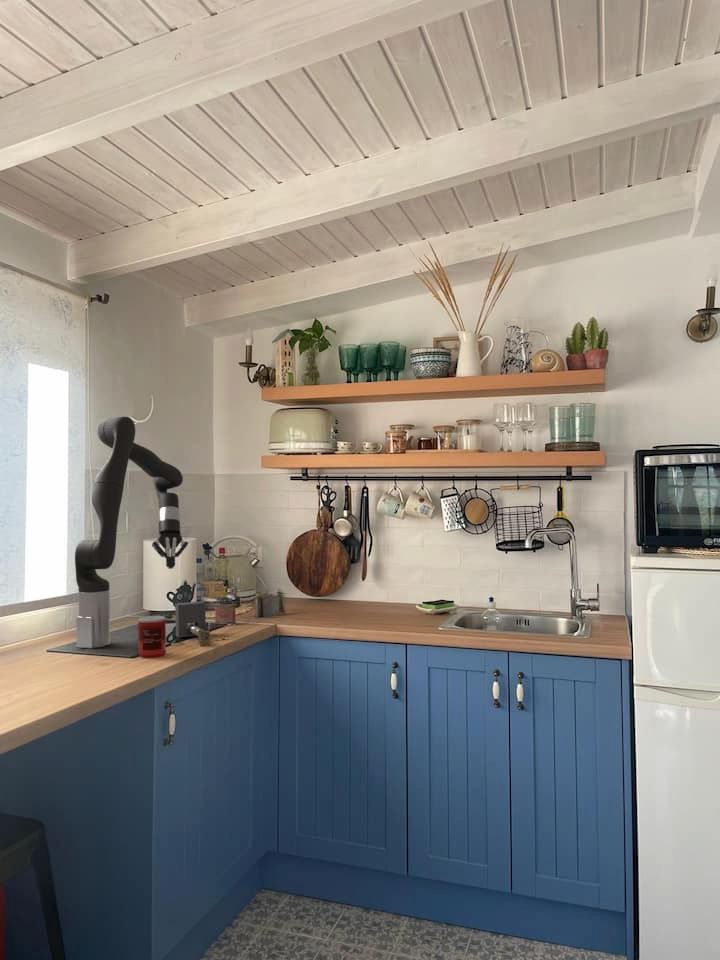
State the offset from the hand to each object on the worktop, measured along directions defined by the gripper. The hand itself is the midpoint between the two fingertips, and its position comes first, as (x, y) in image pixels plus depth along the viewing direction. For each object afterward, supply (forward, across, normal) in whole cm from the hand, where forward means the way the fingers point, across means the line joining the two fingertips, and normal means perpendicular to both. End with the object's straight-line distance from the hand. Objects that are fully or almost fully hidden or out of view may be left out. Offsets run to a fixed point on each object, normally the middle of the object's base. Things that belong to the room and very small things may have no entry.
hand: (170, 568), depth 259 cm
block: (+26, +4, -8) cm, 27 cm away
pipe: (+28, +5, -13) cm, 31 cm away
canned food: (+35, -12, -29) cm, 47 cm away
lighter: (+19, +20, +7) cm, 29 cm away
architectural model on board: (+15, +40, +17) cm, 46 cm away
